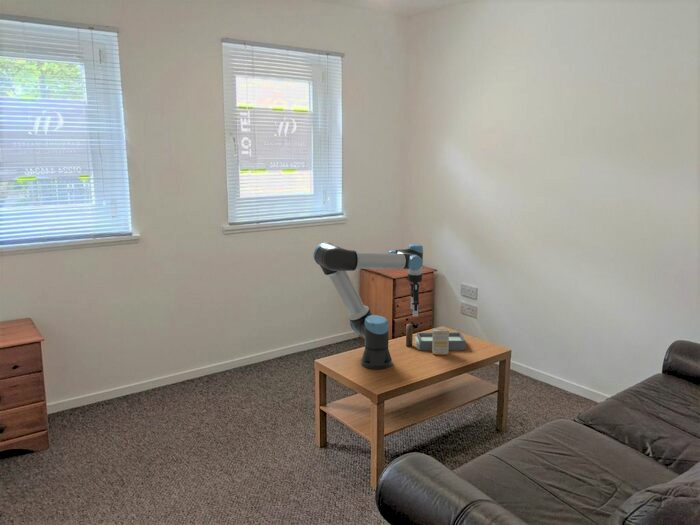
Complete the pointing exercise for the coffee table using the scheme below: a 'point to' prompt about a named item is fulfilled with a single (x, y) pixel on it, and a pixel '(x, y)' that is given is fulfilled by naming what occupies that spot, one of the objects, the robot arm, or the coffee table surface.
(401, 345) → the coffee table surface
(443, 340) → the supplement box
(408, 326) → the peg
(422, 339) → the box
